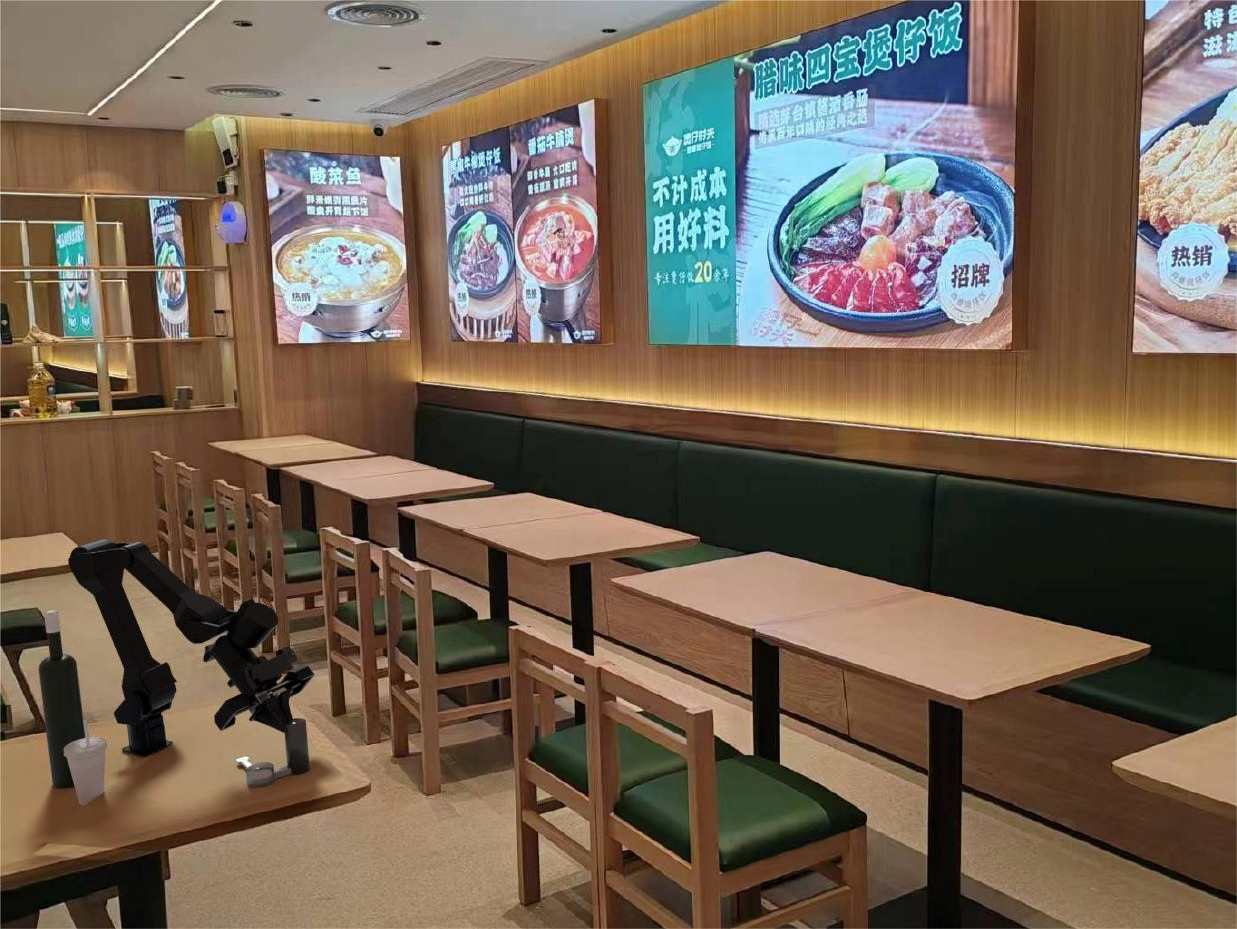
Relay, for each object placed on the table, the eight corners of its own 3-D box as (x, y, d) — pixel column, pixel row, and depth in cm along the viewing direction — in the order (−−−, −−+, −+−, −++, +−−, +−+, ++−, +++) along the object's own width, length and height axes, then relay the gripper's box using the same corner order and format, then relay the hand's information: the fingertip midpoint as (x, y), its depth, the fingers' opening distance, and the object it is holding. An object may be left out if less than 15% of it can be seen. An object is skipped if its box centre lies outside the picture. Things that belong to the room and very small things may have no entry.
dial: (252, 789, 181) (247, 740, 179) (228, 767, 190) (224, 719, 188) (314, 771, 187) (310, 723, 185) (288, 750, 196) (284, 704, 195)
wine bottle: (90, 783, 188) (70, 613, 183) (52, 791, 186) (31, 618, 181) (89, 771, 193) (70, 604, 188) (52, 778, 191) (32, 610, 186)
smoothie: (96, 810, 178) (86, 728, 176) (61, 808, 179) (50, 726, 177) (121, 792, 184) (112, 712, 182) (87, 790, 185) (77, 711, 183)
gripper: (218, 655, 180) (275, 730, 177) (301, 620, 196) (354, 688, 193) (190, 694, 185) (244, 767, 182) (273, 657, 201) (324, 724, 198)
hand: (294, 735), depth 188 cm, fingers closed, pressing on dial
